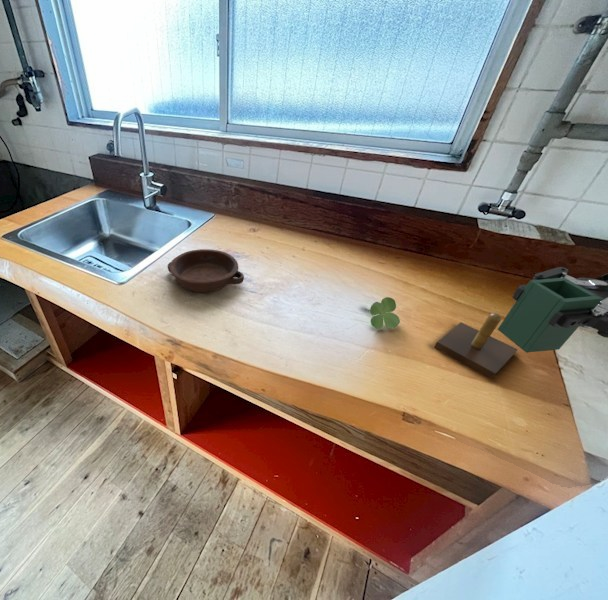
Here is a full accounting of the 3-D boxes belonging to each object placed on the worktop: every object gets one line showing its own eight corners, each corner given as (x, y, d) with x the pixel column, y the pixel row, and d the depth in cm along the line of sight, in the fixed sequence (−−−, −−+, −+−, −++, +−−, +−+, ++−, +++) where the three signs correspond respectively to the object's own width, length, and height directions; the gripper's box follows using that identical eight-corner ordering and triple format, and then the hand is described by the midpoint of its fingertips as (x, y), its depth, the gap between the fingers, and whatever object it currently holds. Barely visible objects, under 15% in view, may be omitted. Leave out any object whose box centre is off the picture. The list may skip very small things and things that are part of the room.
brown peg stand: (514, 354, 62) (542, 317, 57) (491, 378, 58) (519, 341, 52) (457, 327, 69) (478, 291, 63) (433, 347, 65) (453, 310, 59)
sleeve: (527, 326, 49) (564, 277, 44) (559, 349, 45) (603, 298, 40) (497, 329, 49) (529, 280, 44) (526, 352, 45) (565, 302, 40)
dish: (233, 305, 78) (234, 289, 75) (153, 290, 84) (150, 274, 81) (251, 269, 91) (252, 254, 88) (180, 258, 97) (179, 243, 94)
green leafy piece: (369, 333, 75) (389, 338, 69) (345, 313, 74) (363, 317, 68) (387, 308, 76) (408, 311, 69) (363, 288, 74) (382, 289, 68)
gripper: (613, 246, 48) (504, 256, 47) (753, 305, 36) (613, 318, 35) (580, 288, 52) (480, 297, 51) (695, 351, 41) (570, 364, 40)
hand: (535, 306), depth 43 cm, fingers closed on sleeve, 5 cm apart
